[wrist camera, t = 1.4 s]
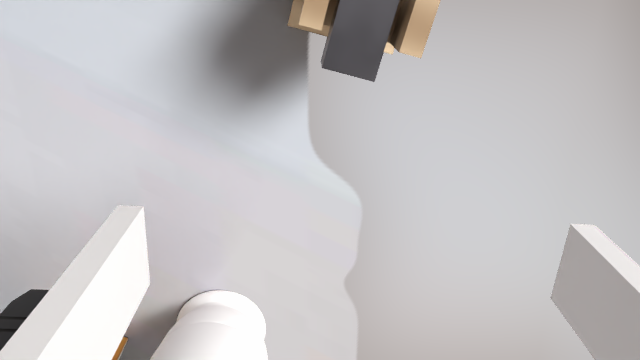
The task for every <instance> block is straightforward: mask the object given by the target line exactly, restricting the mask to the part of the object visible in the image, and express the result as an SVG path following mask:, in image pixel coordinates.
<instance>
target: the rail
mask: <svg viewBox="0 0 640 360" xmlns="http://www.w3.org/2000/svg"><path fill="white" fill-rule="evenodd" d="M399 1H400V0H337V3H336V6H335V10H334V14H333V18H332V21H331V25H330V29H329V33H328V36H327V40H326V44H325V48H324V51H323V56H322V59H321V64H322V68H324V69H328V70H332V71H336V72H339V73H343V74H347V75H350V76H354V77H358V78H362V79H365V80H369V81H373V82H374V81H375V78H376V75H377V72H378V68H379V65H380V62H381V59H382V55H383V52H384V49H385V46H386V43H387V39H388V36H389V33H390V30H391V26H392V23H393V20H394V17H395V14H396V10H397V7H398V4H399Z"/></svg>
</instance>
